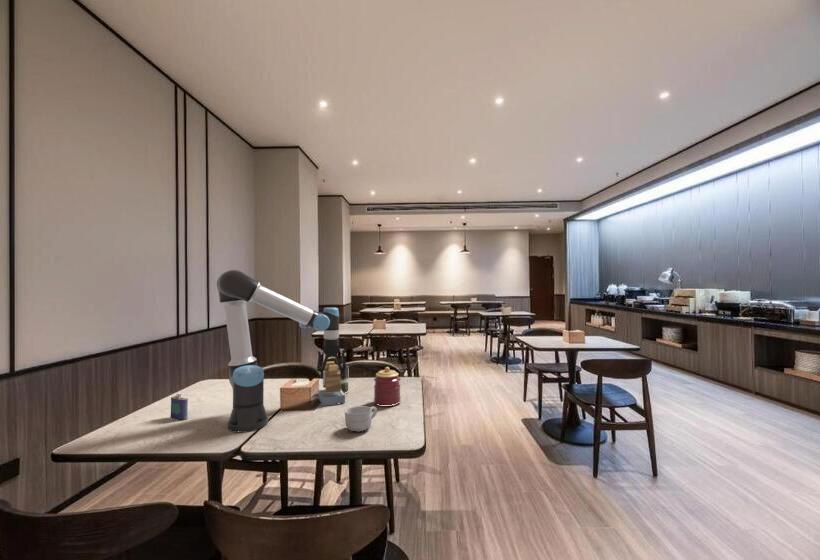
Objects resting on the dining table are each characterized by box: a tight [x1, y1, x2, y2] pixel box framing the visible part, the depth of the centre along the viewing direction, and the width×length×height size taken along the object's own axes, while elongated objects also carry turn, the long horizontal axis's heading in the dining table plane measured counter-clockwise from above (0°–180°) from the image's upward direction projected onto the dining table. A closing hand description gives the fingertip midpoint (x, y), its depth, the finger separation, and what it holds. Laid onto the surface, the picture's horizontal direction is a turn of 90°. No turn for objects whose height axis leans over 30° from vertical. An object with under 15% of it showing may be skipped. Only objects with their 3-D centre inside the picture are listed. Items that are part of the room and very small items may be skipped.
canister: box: [373, 366, 401, 405], centre depth 177 cm, size 13×13×18 cm
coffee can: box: [336, 363, 350, 393], centre depth 196 cm, size 10×10×14 cm
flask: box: [170, 393, 189, 421], centre depth 157 cm, size 9×3×11 cm, turn 68°
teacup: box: [344, 405, 378, 432], centre depth 145 cm, size 14×11×8 cm
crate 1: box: [325, 360, 336, 371], centre depth 185 cm, size 4×4×4 cm
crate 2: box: [328, 363, 338, 375], centre depth 177 cm, size 4×4×4 cm
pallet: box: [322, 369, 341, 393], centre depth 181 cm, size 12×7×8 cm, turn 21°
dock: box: [318, 389, 346, 407], centre depth 181 cm, size 14×11×4 cm
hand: (331, 384), depth 181 cm, fingers closed on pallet, 7 cm apart
